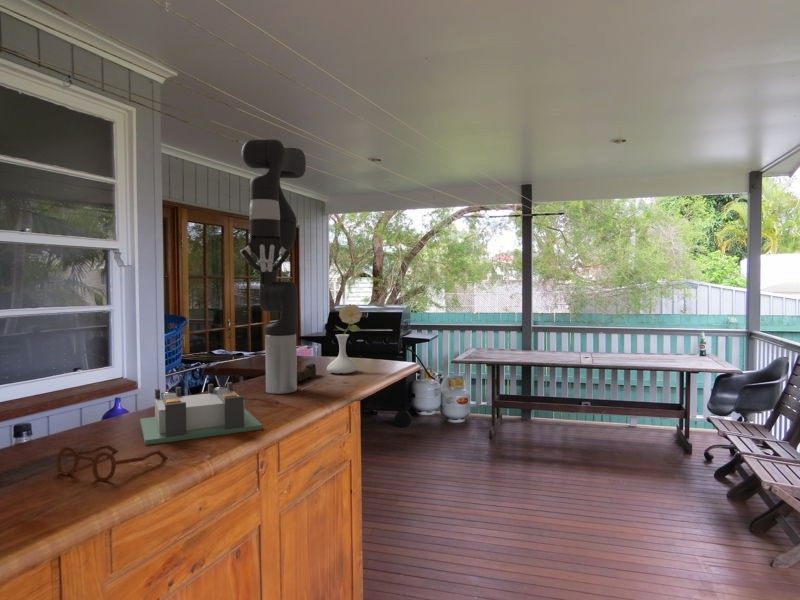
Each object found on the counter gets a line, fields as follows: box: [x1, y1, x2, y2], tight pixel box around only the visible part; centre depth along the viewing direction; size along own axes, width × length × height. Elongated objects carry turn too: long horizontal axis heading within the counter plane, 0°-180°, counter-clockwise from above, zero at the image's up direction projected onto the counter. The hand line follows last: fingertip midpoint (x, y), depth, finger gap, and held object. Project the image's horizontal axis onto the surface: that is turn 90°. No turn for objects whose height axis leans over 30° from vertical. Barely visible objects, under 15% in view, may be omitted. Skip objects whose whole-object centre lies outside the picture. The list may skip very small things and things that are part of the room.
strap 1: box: [160, 391, 181, 404], centre depth 121 cm, size 16×3×2 cm, turn 28°
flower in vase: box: [326, 303, 363, 374], centre depth 194 cm, size 13×11×25 cm
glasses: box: [56, 444, 168, 482], centre depth 98 cm, size 13×13×5 cm
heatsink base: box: [139, 381, 263, 446], centre depth 124 cm, size 20×24×8 cm
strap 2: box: [213, 386, 238, 401], centre depth 127 cm, size 16×3×2 cm, turn 28°
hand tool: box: [297, 363, 317, 385], centre depth 181 cm, size 19×4×5 cm, turn 162°
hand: (265, 286), depth 138 cm, fingers closed
